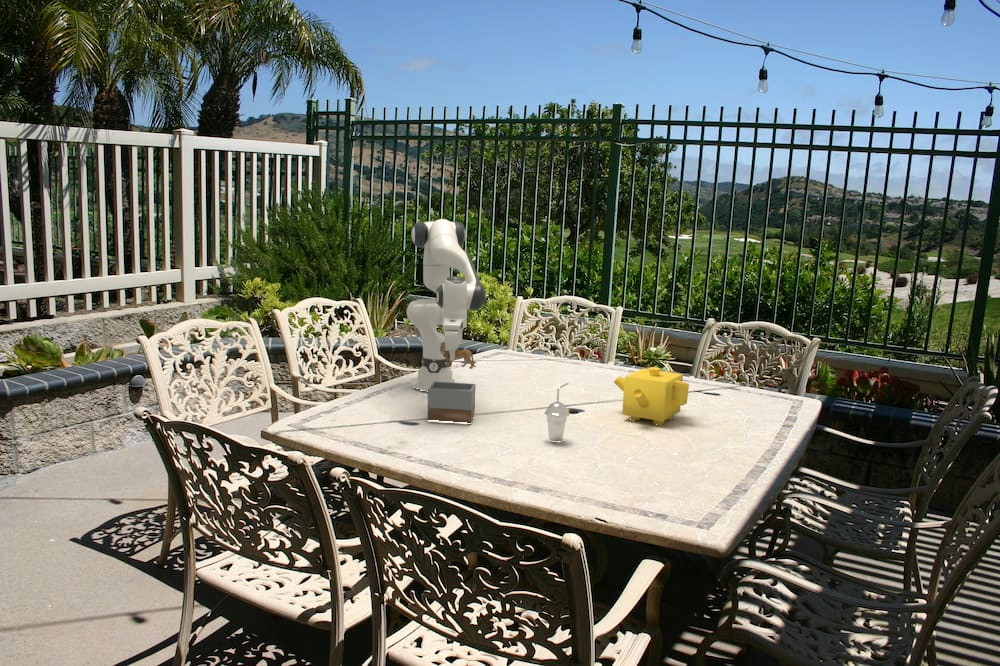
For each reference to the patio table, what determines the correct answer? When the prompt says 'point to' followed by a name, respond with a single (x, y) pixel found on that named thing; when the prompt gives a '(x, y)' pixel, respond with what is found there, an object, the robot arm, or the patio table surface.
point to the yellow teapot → (652, 394)
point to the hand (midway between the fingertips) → (453, 358)
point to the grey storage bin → (451, 395)
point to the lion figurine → (457, 356)
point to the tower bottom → (451, 414)
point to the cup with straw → (556, 418)
